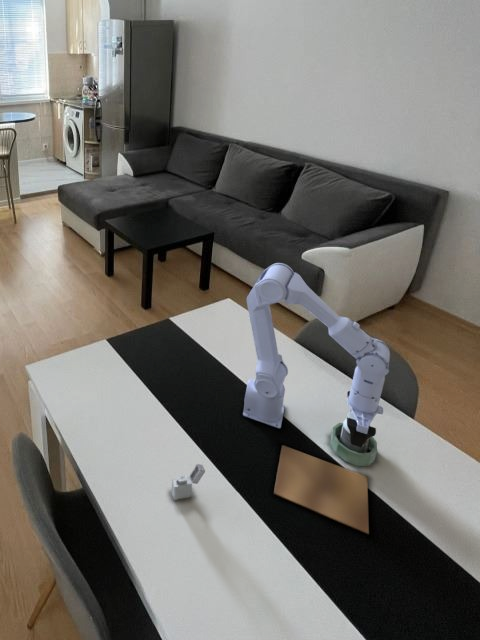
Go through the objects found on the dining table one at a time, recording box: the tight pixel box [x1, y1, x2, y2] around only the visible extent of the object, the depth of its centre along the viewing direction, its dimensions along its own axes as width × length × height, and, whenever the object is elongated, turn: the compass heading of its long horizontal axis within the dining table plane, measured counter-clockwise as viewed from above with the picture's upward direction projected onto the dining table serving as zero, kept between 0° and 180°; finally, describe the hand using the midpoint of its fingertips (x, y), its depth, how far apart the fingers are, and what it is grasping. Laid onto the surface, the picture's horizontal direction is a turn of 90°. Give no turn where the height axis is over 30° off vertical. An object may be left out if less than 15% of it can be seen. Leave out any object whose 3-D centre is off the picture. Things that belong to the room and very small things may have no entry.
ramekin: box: [330, 422, 378, 467], centre depth 105 cm, size 9×9×4 cm
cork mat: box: [273, 444, 370, 535], centre depth 97 cm, size 18×14×1 cm
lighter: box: [171, 463, 206, 501], centre depth 96 cm, size 7×2×8 cm, turn 99°
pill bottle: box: [339, 411, 371, 453], centre depth 104 cm, size 6×6×10 cm
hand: (355, 432), depth 103 cm, fingers open, 7 cm apart
